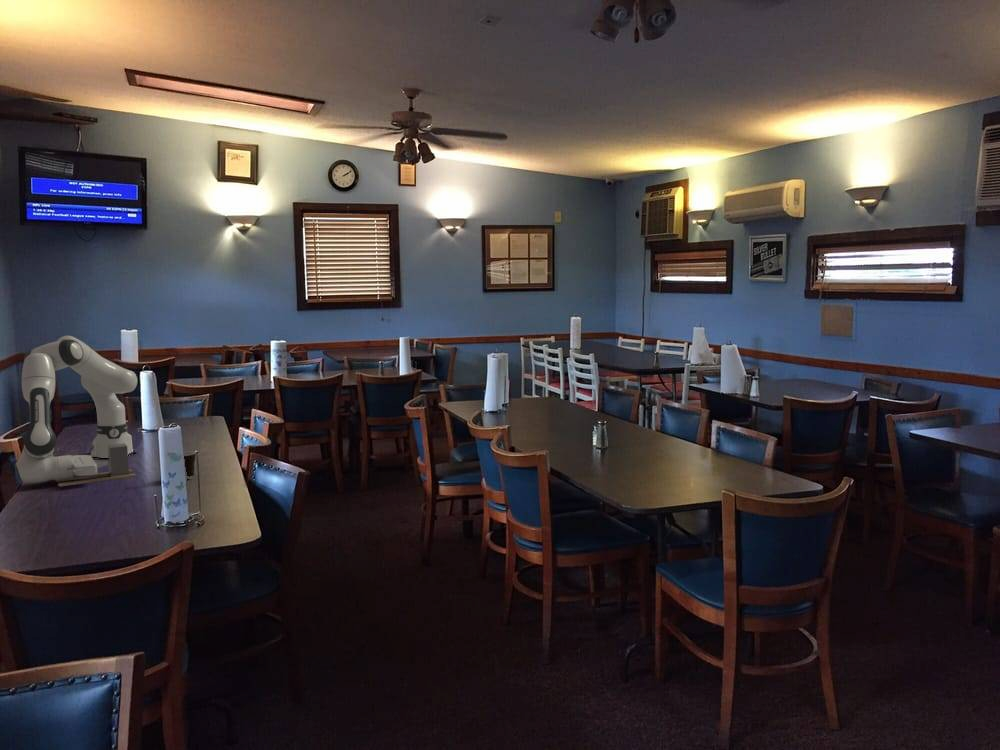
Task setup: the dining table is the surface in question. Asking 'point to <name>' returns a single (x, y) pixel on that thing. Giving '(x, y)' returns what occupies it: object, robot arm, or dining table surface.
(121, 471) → the block
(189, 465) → the coffee mug
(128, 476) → the chute
